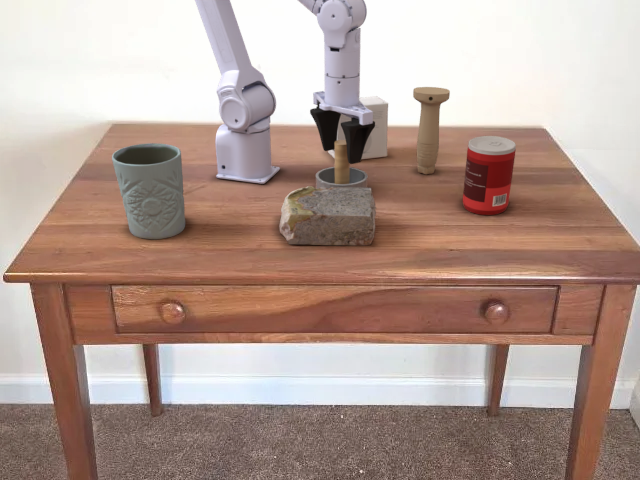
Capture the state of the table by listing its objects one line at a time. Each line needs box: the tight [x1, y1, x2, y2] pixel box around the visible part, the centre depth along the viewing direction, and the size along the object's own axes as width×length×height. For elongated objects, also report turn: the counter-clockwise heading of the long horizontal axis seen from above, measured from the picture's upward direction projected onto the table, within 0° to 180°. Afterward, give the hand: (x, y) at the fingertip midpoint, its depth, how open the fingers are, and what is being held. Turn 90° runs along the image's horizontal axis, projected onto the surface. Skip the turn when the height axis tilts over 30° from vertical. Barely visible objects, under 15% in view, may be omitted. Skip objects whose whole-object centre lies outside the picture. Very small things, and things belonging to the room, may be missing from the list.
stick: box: [334, 140, 351, 184], centre depth 128 cm, size 3×3×8 cm
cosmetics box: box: [327, 95, 389, 160], centre depth 144 cm, size 10×6×10 cm, turn 111°
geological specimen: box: [278, 185, 377, 247], centre depth 115 cm, size 11×6×15 cm
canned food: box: [462, 135, 517, 216], centre depth 123 cm, size 8×8×11 cm
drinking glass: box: [111, 142, 186, 240], centre depth 114 cm, size 10×10×12 cm
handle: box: [412, 86, 451, 175], centre depth 135 cm, size 5×6×15 cm
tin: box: [315, 166, 369, 189], centre depth 130 cm, size 9×9×3 cm
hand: (341, 156), depth 127 cm, fingers open, 7 cm apart
